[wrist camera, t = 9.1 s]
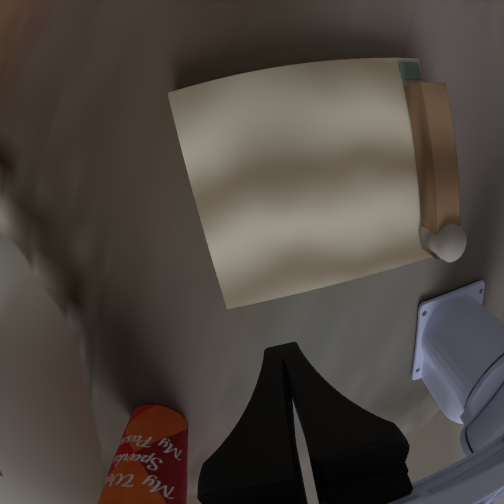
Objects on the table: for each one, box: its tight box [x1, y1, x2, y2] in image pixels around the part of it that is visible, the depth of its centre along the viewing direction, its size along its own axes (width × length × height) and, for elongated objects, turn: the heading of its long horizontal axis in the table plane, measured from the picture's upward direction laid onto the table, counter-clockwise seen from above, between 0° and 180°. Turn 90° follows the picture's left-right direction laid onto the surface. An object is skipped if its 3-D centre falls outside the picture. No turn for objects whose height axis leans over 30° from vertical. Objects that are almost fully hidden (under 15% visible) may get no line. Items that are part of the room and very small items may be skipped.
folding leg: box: [404, 82, 467, 262], centre depth 16 cm, size 11×2×3 cm, turn 12°
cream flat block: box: [168, 58, 433, 309], centre depth 18 cm, size 14×16×2 cm
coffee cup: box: [98, 404, 188, 504], centre depth 20 cm, size 8×8×15 cm
